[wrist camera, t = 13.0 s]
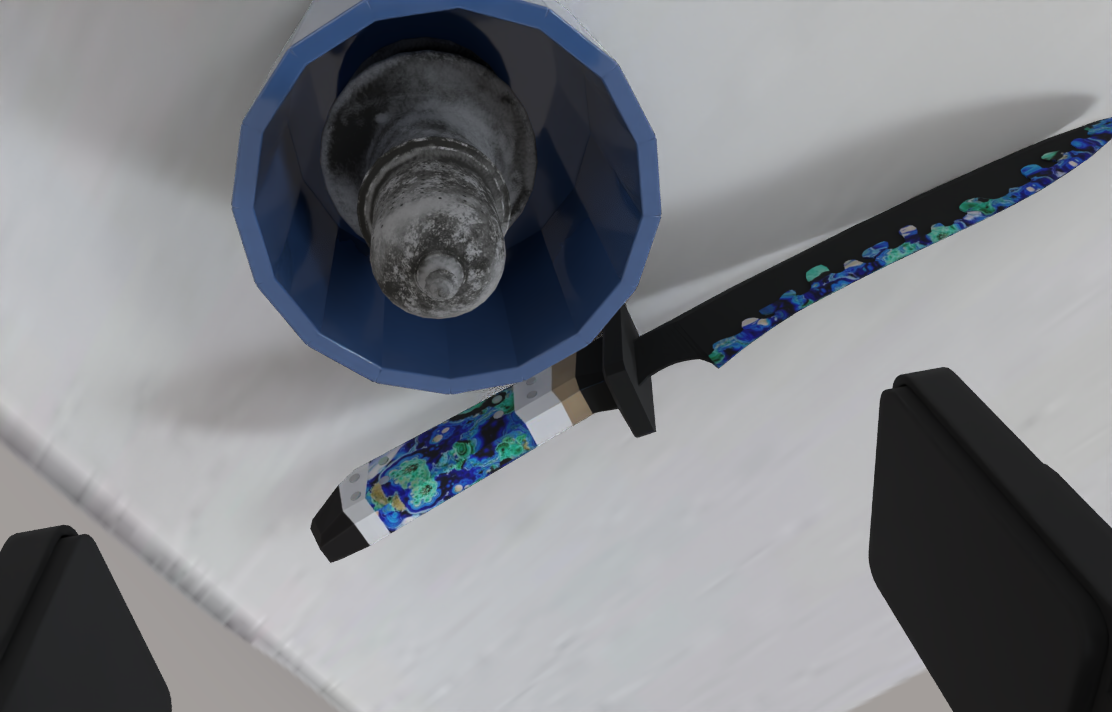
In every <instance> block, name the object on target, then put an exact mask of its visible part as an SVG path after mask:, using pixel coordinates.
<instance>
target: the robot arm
mask: <svg viewBox="0 0 1112 712" xmlns="http://www.w3.org/2000/svg"><path fill="white" fill-rule="evenodd" d="M869 564H870V569H871V573H872V576H873V579H874V581H875V583H876V585H877V587H878V589H879V590H880V592H881V593H882V595H883V597H884V598H885V600H886V602H887V603H888V605H889V607H890V608H891V610H892V612H893V613H894V615H895V617H896V618H897V620H898V621H899V623H900V625H901V626H902V628H903V630H904V631H905V633H906V635H907V636H908V638H909V640H910V641H911V643H912V645H913V646H914V648H915V650H916V651H917V653H918V654H919V656H920V658H921V659H922V661H923V663H924V664H925V666H926V668H927V669H928V671H929V673H930V674H931V676H932V677H933V679H934V681H935V682H936V684H937V685H938V687H939V689H940V691H941V692H942V694H943V696H944V697H945V699H946V701H947V702H948V704H949V706H950V707H951V709H952V710H953V712H1112V528H1111V527H1110V526H1109V525H1108V524H1107V523H1106V522H1105V521H1104V520H1103V519H1102V518H1101V517H1100V516H1099V515H1098V514H1097V513H1096V512H1095V511H1094V510H1093V509H1092V508H1091V507H1090V506H1089V505H1088V504H1087V503H1086V502H1085V501H1084V500H1083V499H1082V498H1081V497H1080V496H1079V495H1078V494H1077V493H1076V492H1075V490H1074V489H1073V488H1072V487H1071V486H1070V485H1069V484H1068V483H1067V482H1066V481H1065V480H1064V479H1063V478H1062V477H1061V476H1060V475H1059V474H1058V473H1057V472H1055V471H1054V470H1053V469H1052V468H1050V467H1049V466H1048V465H1046V464H1043V463H1042V462H1041V461H1040V460H1039V459H1038V458H1037V457H1036V456H1035V455H1034V454H1033V453H1032V452H1031V451H1030V450H1029V448H1028V447H1027V446H1026V445H1025V444H1024V443H1023V442H1022V441H1021V440H1020V439H1019V438H1018V437H1017V436H1016V435H1015V434H1014V433H1013V432H1012V431H1011V430H1010V429H1009V428H1008V427H1007V426H1006V425H1005V424H1004V423H1003V422H1002V421H1001V420H1000V419H999V418H998V417H997V416H996V415H995V414H994V413H993V412H992V411H991V409H990V408H989V407H988V406H987V405H986V404H985V403H984V402H983V401H982V400H981V399H980V398H979V397H978V396H977V395H976V394H975V393H974V392H973V391H972V390H971V389H970V388H969V387H968V386H967V385H966V384H965V383H964V382H963V381H962V380H961V379H960V378H959V377H958V376H957V375H956V374H955V373H954V372H953V371H952V370H950V369H949V368H945V367H941V368H936V369H930V370H925V371H919V372H913V373H908V374H902V375H899V376H898V377H896V379H895V381H894V383H893V388H892V389H887V390H885V391H883V392H882V394H881V398H880V407H879V420H878V434H877V447H876V461H875V474H874V487H873V501H872V514H871V528H870V541H869ZM0 712H172V705H171V697H170V692H169V690H168V687H167V685H166V683H165V681H164V679H163V677H162V675H161V673H160V671H159V669H158V667H157V665H156V663H155V661H154V659H153V657H152V655H151V653H150V651H149V649H148V647H147V645H146V643H145V641H144V639H143V637H142V635H141V633H140V631H139V629H138V627H137V625H136V623H135V621H134V619H133V617H132V615H131V613H130V611H129V609H128V607H127V605H126V603H125V601H124V599H123V597H122V595H121V593H120V591H119V589H118V587H117V585H116V583H115V581H114V579H113V577H112V575H111V573H110V571H109V569H108V567H107V565H106V563H105V561H104V559H103V557H102V555H101V553H100V551H99V549H98V547H97V545H96V543H95V541H94V540H93V538H92V537H90V536H89V535H87V534H82V535H78V534H77V532H76V531H75V530H74V529H73V528H72V527H70V526H68V525H61V526H55V527H49V528H44V529H38V530H33V531H27V532H21V533H16V534H14V535H12V536H10V537H9V538H8V540H7V541H6V542H5V544H4V546H3V548H2V550H1V551H0Z"/></svg>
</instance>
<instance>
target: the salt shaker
mask: <svg viewBox="0 0 1112 712" xmlns="http://www.w3.org/2000/svg"><path fill="white" fill-rule="evenodd" d="M537 164H538V160H537V150H536V139H535V134H534V131H533V128H532V126H531V123H530V120H529V117H528V115H527V112H526V109H525V108H524V106H523V105H522V103H521V102H520V101H519V99H518V98H517V96H516V95H515V94H514V92H513V91H512V89H511V88H510V87H509V85H508V84H506V83H505V82H504V81H503V80H502V79H500V78H499V77H498V76H497V75H496V73H495V72H494V70H493V69H492V68H491V66H490V65H489V64H488V63H486V62H485V61H484V60H483V59H482V58H480V57H479V56H478V55H477V54H475V53H474V52H473V51H472V50H470V49H467V48H465V47H463V46H461V45H459V44H456V43H454V42H452V41H450V40H444V39H437V38H431V37H419V38H410V39H402V40H400V41H397V42H395V43H392V44H390V45H387V46H385V47H382V48H380V49H379V50H378V51H376V52H375V53H374V54H372V55H371V56H370V57H369V58H367V59H366V60H365V61H363V62H362V63H361V65H360V66H359V68H358V69H357V70H356V72H355V73H354V74H353V76H352V77H351V79H350V80H349V81H348V83H347V85H346V86H345V88H344V89H343V90H342V92H341V93H340V94H339V96H338V97H337V99H336V100H335V101H334V103H333V104H332V106H331V108H330V111H329V114H328V117H327V119H326V122H325V125H324V128H323V131H322V135H321V150H320V165H321V169H322V174H323V179H324V184H325V188H326V191H327V192H328V194H329V196H330V198H331V200H332V202H333V204H334V206H335V208H336V210H337V212H338V214H339V215H340V216H341V217H342V218H343V219H344V220H345V222H346V223H347V224H348V225H349V226H350V227H351V228H352V229H353V231H354V232H355V233H356V234H357V235H359V236H360V237H362V238H363V239H365V241H366V243H367V245H368V247H369V248H370V262H371V267H372V272H373V275H374V277H375V279H376V281H377V283H378V285H379V287H380V288H381V290H382V292H383V293H384V294H385V295H386V296H387V298H388V299H389V300H390V301H391V302H392V303H393V304H394V305H396V306H398V307H399V308H401V309H402V310H404V311H406V312H407V313H410V314H413V315H416V316H419V317H422V318H433V319H443V318H451V317H457V316H459V315H462V314H464V313H467V312H470V311H472V310H473V309H475V308H476V307H478V306H479V305H480V304H482V303H483V302H485V301H486V299H487V298H488V297H489V296H490V295H491V294H492V293H493V291H494V290H495V289H496V287H497V285H498V283H499V281H500V279H501V277H502V274H503V271H504V265H505V259H506V249H505V240H504V236H505V234H506V232H507V230H508V229H509V228H510V227H511V225H512V224H513V223H514V222H515V221H516V219H517V218H518V217H519V216H520V215H521V213H522V212H523V210H524V207H525V205H526V203H527V201H528V199H529V197H530V195H531V192H532V190H533V187H534V181H535V175H536V170H537Z"/></svg>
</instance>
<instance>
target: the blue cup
mask: <svg viewBox="0 0 1112 712" xmlns="http://www.w3.org/2000/svg"><path fill="white" fill-rule="evenodd" d="M419 37H431V38H437V39H444V40H450V41H452V42H454V43H456V44H459V45H461V46H463V47H465V48H467V49H470V50H472V51H473V52H474V53H475V54H477V55H478V56H479V57H480V58H482V59H483V60H484V61H485V62H486V63H488V64H489V65H490V66H491V68H492V69H493V70H494V72H495V73H496V75H497V76H498V77H499V78H500V79H502V80H503V81H504V82H505V83H506V84H508V85H509V87H510V88H511V89H512V91H513V92H514V94H515V95H516V96H517V98H518V99H519V101H520V102H521V103H522V105H523V106H524V108H525V109H526V112H527V115H528V117H529V120H530V123H531V126H532V128H533V131H534V134H535V139H536V150H537V160H538V164H537V170H536V175H535V181H534V187H533V190H532V192H531V195H530V197H529V199H528V201H527V203H526V205H525V207H524V210H523V212H522V213H521V215H520V216H519V217H518V218H517V219H516V221H515V222H514V223H513V224H512V225H511V227H510V228H509V229H508V230H507V232H506V234H505V236H504V240H505V249H506V259H505V265H504V271H503V274H502V277H501V279H500V281H499V283H498V285H497V287H496V289H495V290H494V291H493V293H492V294H491V295H490V296H489V297H488V298H487V299H486V301H485V302H483V303H482V304H480V305H479V306H478V307H476V308H475V309H473V310H472V311H470V312H467V313H464V314H462V315H459V316H457V317H451V318H443V319H433V318H422V317H419V316H416V315H413V314H410V313H407V312H406V311H404V310H402V309H401V308H399V307H398V306H396V305H394V304H393V303H392V302H391V301H390V300H389V299H388V298H387V296H386V295H385V294H384V293H383V292H382V290H381V288H380V287H379V285H378V283H377V281H376V279H375V277H374V275H373V272H372V267H371V262H370V248H369V247H368V245H367V243H366V241H365V239H363V238H362V237H360V236H359V235H357V234H356V233H355V232H354V231H353V229H352V228H351V227H350V226H349V225H348V224H347V223H346V222H345V220H344V219H343V218H342V217H341V216H340V215H339V214H338V212H337V210H336V208H335V206H334V204H333V202H332V200H331V198H330V196H329V194H328V192H327V191H326V188H325V184H324V179H323V174H322V169H321V165H320V150H321V135H322V131H323V128H324V125H325V122H326V119H327V117H328V114H329V111H330V108H331V106H332V104H333V103H334V101H335V100H336V99H337V97H338V96H339V94H340V93H341V92H342V90H343V89H344V88H345V86H346V85H347V83H348V81H349V80H350V79H351V77H352V76H353V74H354V73H355V72H356V70H357V69H358V68H359V66H360V65H361V63H362V62H363V61H365V60H366V59H367V58H369V57H370V56H371V55H372V54H374V53H375V52H376V51H378V50H379V49H380V48H382V47H385V46H387V45H390V44H392V43H395V42H397V41H400V40H402V39H410V38H419ZM231 205H232V212H233V215H234V218H235V221H236V224H237V228H238V231H239V234H240V237H241V240H242V244H243V247H244V250H245V253H246V256H247V259H248V263H249V266H250V269H251V272H252V275H253V279H254V282H255V283H256V285H257V287H258V288H259V289H260V291H261V292H262V293H263V294H264V295H265V297H266V298H267V299H268V300H269V301H270V303H271V304H272V305H273V306H274V307H275V308H276V310H277V311H278V312H279V313H280V314H281V316H282V317H283V318H284V319H285V320H286V321H287V323H288V324H289V325H290V326H291V327H292V329H293V330H294V331H295V332H296V333H297V335H298V336H299V337H300V338H301V339H302V340H303V342H304V343H305V344H306V345H307V344H308V346H309V347H311V348H312V349H314V350H316V351H318V352H320V353H321V354H323V355H325V356H327V357H329V358H331V359H332V360H334V361H336V362H338V363H340V364H341V365H343V366H345V367H347V368H349V369H350V370H352V371H354V372H356V373H358V374H360V375H361V376H363V377H365V378H367V379H369V380H370V381H372V382H376V383H379V384H385V385H391V386H398V387H404V388H410V389H417V390H423V391H429V392H435V393H442V394H458V393H463V392H469V391H474V390H480V389H486V388H491V387H497V386H502V385H508V384H513V383H519V382H523V381H526V380H528V379H530V378H531V377H533V376H535V375H537V374H538V373H540V372H542V371H544V370H545V369H547V368H549V367H551V366H553V365H554V364H556V363H558V362H560V361H561V360H563V359H565V358H567V357H568V356H570V355H572V354H574V353H575V352H577V351H579V350H581V349H582V348H584V347H586V346H587V345H588V344H590V343H591V342H592V341H593V339H594V338H595V337H596V336H597V335H598V334H599V332H600V331H601V330H602V329H603V328H604V326H605V325H606V324H607V323H608V322H609V321H610V319H611V318H612V317H613V316H614V315H615V313H616V312H617V311H618V310H619V309H620V308H621V306H622V305H623V304H624V303H625V302H626V300H627V299H628V298H629V297H630V296H631V295H632V293H633V292H634V291H635V290H636V287H637V286H638V284H639V281H640V278H641V275H642V272H643V269H644V266H645V263H646V260H647V257H648V254H649V252H650V249H651V246H652V243H653V240H654V237H655V234H656V231H657V228H658V225H659V222H660V219H661V198H660V183H659V169H658V154H657V140H656V138H655V133H654V132H653V130H652V128H651V126H650V124H649V122H648V120H647V118H646V116H645V114H644V112H643V110H642V108H641V106H640V105H639V103H638V101H637V99H636V97H635V95H634V93H633V91H632V89H631V87H630V85H629V83H628V81H627V79H626V78H625V76H624V74H623V72H622V70H621V68H620V66H619V65H618V64H617V62H616V61H615V60H614V59H613V58H612V57H611V55H610V54H609V53H608V52H607V51H606V50H605V49H604V48H603V47H602V46H601V45H600V44H599V43H598V42H597V41H596V40H595V38H594V37H593V36H592V35H591V34H590V33H589V32H588V31H587V30H586V29H585V28H584V27H583V26H582V25H581V24H580V23H579V21H578V20H577V19H576V18H575V17H574V16H573V15H572V14H571V13H570V12H569V11H568V10H567V9H566V8H565V7H564V6H562V5H561V4H560V3H559V2H557V1H556V0H313V1H312V3H311V5H310V6H309V8H308V9H307V11H306V13H305V14H304V16H303V18H302V19H301V21H300V22H299V24H298V25H297V27H296V29H295V30H294V32H293V34H292V35H291V37H290V38H289V40H288V42H287V43H286V45H285V46H284V48H283V50H282V51H281V53H280V54H279V56H278V58H277V60H276V62H275V63H274V65H273V67H272V69H271V71H270V72H269V74H268V76H267V78H266V79H265V81H264V83H263V85H262V87H261V88H260V90H259V92H258V94H257V96H256V97H255V99H254V101H253V103H252V104H251V106H250V108H249V110H248V112H247V113H246V115H245V117H244V119H243V121H242V124H241V128H240V136H239V145H238V153H237V161H236V169H235V178H234V186H233V194H232V202H231Z"/></svg>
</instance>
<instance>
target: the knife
mask: <svg viewBox="0 0 1112 712" xmlns="http://www.w3.org/2000/svg"><path fill="white" fill-rule="evenodd" d="M1111 139H1112V117H1111V118H1107V119H1103V120H1099V121H1096V122H1093V123H1090V124H1087V125H1085V126H1082V127H1079V128H1076V129H1073V130H1071V131H1068V132H1065V133H1062V134H1059V135H1057V136H1054V137H1051V138H1048V139H1045V140H1043V141H1041V142H1038V143H1036V144H1034V145H1031V146H1029V147H1027V148H1024V149H1022V150H1020V151H1018V152H1015V153H1013V154H1011V155H1008V156H1006V157H1004V158H1001V159H999V160H997V161H994V162H992V163H990V164H988V165H985V166H983V167H981V168H979V169H976V170H974V171H972V172H970V173H968V174H965V175H963V176H961V177H959V178H956V179H954V180H952V181H950V182H948V183H945V184H943V185H941V186H939V187H936V188H934V189H932V190H930V191H928V192H925V193H923V194H921V195H919V196H917V197H914V198H912V199H910V200H908V201H906V202H904V203H902V204H900V205H897V206H895V207H893V208H891V209H889V210H887V211H885V212H883V213H880V214H878V215H876V216H874V217H872V218H870V219H868V220H866V221H864V222H861V223H859V224H857V225H855V226H853V227H851V228H849V229H847V230H845V231H843V232H841V233H839V234H837V235H835V236H833V237H831V238H829V239H827V240H825V241H823V242H821V243H819V244H817V245H815V246H813V247H811V248H809V249H807V250H805V251H803V252H801V253H799V254H797V255H795V256H793V257H791V258H789V259H787V260H785V261H783V262H781V263H779V264H777V265H775V266H773V267H771V268H769V269H767V270H765V271H763V272H761V273H759V274H757V275H755V276H753V277H751V278H749V279H747V280H745V281H743V282H741V283H739V284H737V285H735V286H733V287H731V288H729V289H727V290H726V291H724V292H722V293H720V294H718V295H716V296H715V297H713V298H711V299H709V300H707V301H705V302H703V303H702V304H700V305H698V306H696V307H694V308H692V309H690V310H689V311H687V312H685V313H683V314H681V315H680V316H678V317H676V318H674V319H672V320H670V321H668V322H667V323H665V324H663V325H661V326H659V327H657V328H655V329H653V330H651V331H650V332H648V333H646V334H644V335H642V336H640V337H639V335H638V333H637V330H636V328H635V326H634V324H633V321H632V319H631V317H630V315H629V312H628V310H627V308H626V306H625V303H624V304H623V305H622V306H621V308H620V309H619V310H618V311H617V312H616V313H615V315H614V316H613V317H612V318H611V319H610V321H609V322H608V323H607V324H606V325H605V326H604V328H603V336H602V337H600V338H599V339H597V340H595V341H593V342H591V343H590V344H588V345H587V346H586V347H584V348H582V349H581V350H579V351H577V352H575V353H574V354H572V355H570V356H568V357H567V358H565V359H563V360H561V361H560V362H558V363H556V364H554V365H553V366H551V367H549V368H547V369H545V370H544V371H542V372H540V373H538V374H537V375H535V376H533V377H531V378H530V379H528V380H526V381H523V382H519V383H516V384H514V385H512V386H510V387H508V388H506V389H505V390H503V391H501V392H499V393H497V394H495V395H493V396H491V397H490V398H488V399H486V400H484V401H482V402H480V403H478V404H476V405H475V406H473V407H471V408H469V409H467V410H465V411H463V412H461V413H460V414H458V415H456V416H454V417H452V418H450V419H448V420H446V421H445V422H443V423H441V424H439V425H437V426H435V427H433V428H431V429H430V430H428V431H426V432H424V433H422V434H420V435H418V436H416V437H415V438H413V439H411V440H409V441H407V442H405V443H403V444H402V445H400V446H398V447H396V448H394V449H392V450H390V451H388V452H387V453H385V454H383V455H381V456H379V457H377V458H375V459H373V460H372V461H370V462H368V463H366V464H364V465H362V466H360V467H358V468H357V469H355V470H354V471H353V472H352V473H351V474H350V475H349V476H348V477H346V478H345V479H344V480H343V481H342V482H341V483H340V484H339V485H338V486H337V488H336V489H335V490H334V492H333V493H332V494H331V496H330V497H329V498H328V500H327V501H326V502H325V504H324V505H323V506H322V508H321V509H320V510H319V512H318V513H317V514H316V516H315V517H314V518H313V520H312V524H311V528H310V529H311V531H312V533H313V535H314V537H315V539H316V542H317V544H318V546H319V548H320V550H321V551H322V552H323V554H324V555H325V556H326V557H327V559H328V560H329V561H330V563H331V562H334V561H338V560H340V559H342V558H345V557H347V556H349V555H351V554H353V553H355V552H358V551H360V550H362V549H364V548H366V547H369V546H371V545H372V544H374V543H376V542H378V541H379V540H381V539H383V538H384V537H386V536H387V535H389V534H390V533H392V532H394V531H395V530H397V529H399V528H401V527H402V526H404V525H406V524H407V523H409V522H411V521H412V520H414V519H416V518H418V517H419V516H421V515H423V514H424V513H426V512H428V511H429V510H431V509H433V508H434V507H436V506H438V505H440V504H441V503H443V502H445V501H446V500H448V499H450V498H451V497H453V496H455V495H457V494H458V493H460V492H462V491H463V490H465V489H467V488H468V487H470V486H472V485H473V484H475V483H477V482H479V481H480V480H482V479H484V478H485V477H487V476H489V475H490V474H492V473H494V472H496V471H497V470H499V469H501V468H502V467H504V466H506V465H507V464H509V463H511V462H512V461H514V460H516V459H518V458H519V457H521V456H523V455H524V454H526V453H528V452H529V451H531V450H533V449H535V448H536V447H538V446H540V445H541V444H543V443H545V442H546V441H548V440H550V439H551V438H553V437H555V436H557V435H558V434H560V433H562V432H563V431H565V430H567V429H568V428H570V427H572V426H574V425H575V424H577V423H579V422H580V421H582V420H584V419H586V418H587V417H589V416H591V415H592V414H594V413H597V412H601V411H608V410H614V409H619V410H620V412H621V414H622V416H623V417H624V419H625V421H626V422H627V424H628V426H629V427H630V429H631V431H632V433H633V434H634V436H635V437H637V438H638V437H641V436H644V435H647V434H650V433H653V432H656V426H655V415H654V404H653V393H652V382H651V376H652V375H653V374H655V373H657V372H658V371H660V370H662V369H664V368H666V367H668V366H670V365H673V364H675V363H679V362H683V361H688V360H695V359H701V360H705V361H707V362H710V363H712V364H713V365H714V366H716V367H717V368H720V367H721V366H722V365H724V364H725V363H726V362H727V361H729V360H730V359H731V358H732V357H734V356H735V355H736V354H737V353H739V352H740V351H741V350H742V349H744V348H745V347H746V346H748V345H749V344H751V343H752V342H753V341H755V340H756V339H758V338H759V337H760V336H762V335H763V334H764V333H766V332H767V331H769V330H770V329H772V328H773V327H775V326H776V325H778V324H779V323H781V322H782V321H784V320H786V319H787V318H789V317H790V316H792V315H793V314H795V313H796V312H798V311H800V310H802V309H804V308H805V307H807V306H809V305H811V304H813V303H815V302H817V301H818V300H820V299H822V298H824V297H826V296H828V295H830V294H832V293H834V292H836V291H838V290H840V289H842V288H843V287H845V286H847V285H849V284H851V283H853V282H855V281H857V280H859V279H861V278H863V277H865V276H867V275H869V274H871V273H873V272H875V271H877V270H879V269H881V268H883V267H885V266H887V265H889V264H892V263H894V262H896V261H898V260H900V259H902V258H904V257H906V256H908V255H911V254H913V253H915V252H917V251H919V250H921V249H923V248H925V247H927V246H930V245H932V244H934V243H936V242H938V241H940V240H942V239H944V238H947V237H949V236H951V235H953V234H955V233H957V232H959V231H961V230H963V229H965V228H968V227H970V226H972V225H974V224H976V223H978V222H980V221H982V220H984V219H986V218H988V217H990V216H992V215H994V214H996V213H998V212H1000V211H1002V210H1004V209H1006V208H1008V207H1010V206H1012V205H1014V204H1016V203H1018V202H1020V201H1022V200H1023V199H1025V198H1027V197H1029V196H1031V195H1033V194H1035V193H1036V192H1038V191H1040V190H1042V189H1043V188H1045V187H1046V186H1048V185H1050V184H1051V183H1053V182H1054V181H1056V180H1057V179H1059V178H1061V177H1062V176H1064V175H1065V174H1067V173H1068V172H1070V171H1071V170H1073V169H1074V168H1076V167H1077V166H1078V165H1080V164H1081V163H1083V162H1084V161H1086V160H1087V159H1089V158H1090V157H1091V156H1092V155H1094V154H1095V153H1096V152H1097V151H1098V150H1099V149H1100V148H1102V147H1103V146H1104V145H1105V144H1106V143H1107V142H1109V141H1110V140H1111Z"/></svg>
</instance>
